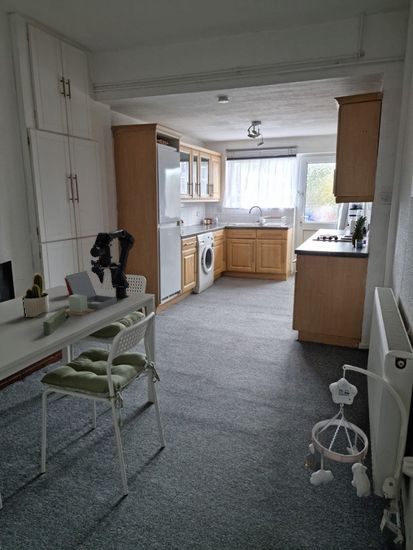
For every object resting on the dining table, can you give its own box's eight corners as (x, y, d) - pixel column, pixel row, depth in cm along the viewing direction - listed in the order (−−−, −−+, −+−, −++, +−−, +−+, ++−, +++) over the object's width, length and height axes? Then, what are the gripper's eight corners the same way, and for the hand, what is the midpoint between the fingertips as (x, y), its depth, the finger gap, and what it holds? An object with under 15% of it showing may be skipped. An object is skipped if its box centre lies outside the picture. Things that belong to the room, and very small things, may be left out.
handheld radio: (42, 335, 166) (65, 317, 190) (49, 336, 166) (71, 318, 190) (41, 321, 165) (64, 305, 189) (49, 321, 165) (71, 305, 189)
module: (76, 308, 204) (75, 294, 202) (87, 309, 201) (86, 295, 199) (69, 310, 200) (68, 296, 198) (80, 312, 196) (79, 297, 195)
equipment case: (87, 298, 226) (85, 270, 223) (116, 302, 216) (115, 273, 213) (68, 304, 212) (65, 275, 209) (98, 309, 203) (96, 278, 199)
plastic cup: (85, 292, 240) (84, 274, 238) (79, 296, 230) (77, 278, 227) (69, 292, 241) (67, 274, 238) (62, 296, 230) (60, 277, 228)
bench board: (75, 306, 208) (75, 305, 208) (96, 310, 202) (96, 309, 202) (60, 312, 199) (60, 311, 198) (81, 316, 192) (81, 314, 192)
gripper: (105, 251, 220) (107, 277, 223) (82, 256, 204) (84, 283, 207) (120, 252, 215) (122, 279, 219) (98, 257, 199) (100, 285, 202)
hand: (107, 281), depth 212 cm, fingers open, 9 cm apart
